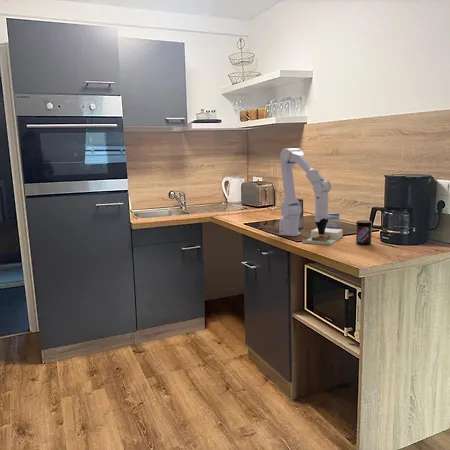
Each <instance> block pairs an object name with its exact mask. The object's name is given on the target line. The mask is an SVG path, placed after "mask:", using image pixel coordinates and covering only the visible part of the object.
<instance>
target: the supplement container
mask: <svg viewBox="0 0 450 450" xmlns="http://www.w3.org/2000/svg"><path fill="white" fill-rule="evenodd" d="M355 223H356V224H355V225H356V226H355V228H356V229H355V243H356V245H359V246H370V245H371V244H372V235H373V234H372V230H373V228H372V226H373V222H372V221H371V220H368V219H367V220H366V219H365V220H364V219H362V220H356V222H355Z"/></svg>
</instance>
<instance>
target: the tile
mask: <svg viewBox="0 0 450 450" xmlns="http://www.w3.org/2000/svg"><path fill="white" fill-rule="evenodd" d="M329 239H330V235H326V234H324V235H319V234H317V235H315V236H313V237H312V241H324V242H326V241H327V240H329Z"/></svg>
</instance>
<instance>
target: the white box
mask: <svg viewBox="0 0 450 450" xmlns="http://www.w3.org/2000/svg"><path fill="white" fill-rule="evenodd" d="M317 234H319V233H318V228H317V227H316V228H314V229H312V230H310V238H311V237H313V236H315V235H317ZM324 234H326V235H330V239H337V241H338V240H339V239H341V238H342V237H343V229H341V228H339V229H328V228H325V232H324Z"/></svg>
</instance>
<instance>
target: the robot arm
mask: <svg viewBox="0 0 450 450" xmlns="http://www.w3.org/2000/svg"><path fill="white" fill-rule="evenodd" d="M279 157H280V159H279V160H280V170H281V177H282V178H281V179H282V180H281V181H282V185H283V186H282V187H283V194H284V195H283V196H284V199H285V200H283V201H282V202H281V209H280V214H281V216H282V217H280V219H279V223H278V224H279V228H278V229H279V230H278V231H279V232H278V235H279V236H290V237H297V236H299V235H301V234H302V232H299V229H300V228H299V218H298V217H300V215H301V213H302V208H301V206H300V202H299V201H298V200H297V199H298V198H296V192H295V191H296V190H295V181H294V175H293V167H294V165H296V164H297V165H299V166H300V168H301V169H302V170H303V171H304V172H305V173H306V175H305V176H306V179H307V180H308V181H309V182H310V184H311V185H312V186H313V187H312V190H313V192H314V196H315V215H314V223H315V225H316V228H318V233H319V235H324V232H325V228H326V225H327V223H328V221H329V220H328V219H325V218H329V217H330V216H329V215H328V213H329V192H330V191H331V189H332V185H331V182H330V181H329V180H328V179H325V178H324V177H323V176H322V175H321V174H320V173H319V170H318V169H317V168H312V166H311V165H310V163H309V161H308V160H307V159H306V156H305V153H304V152H303V150H302V149H301V148H300V147H296V148H295V147H294V148H291V147H290V148H283V149H282V150H281V152H280V153H279ZM289 204H292V205H289Z"/></svg>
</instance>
